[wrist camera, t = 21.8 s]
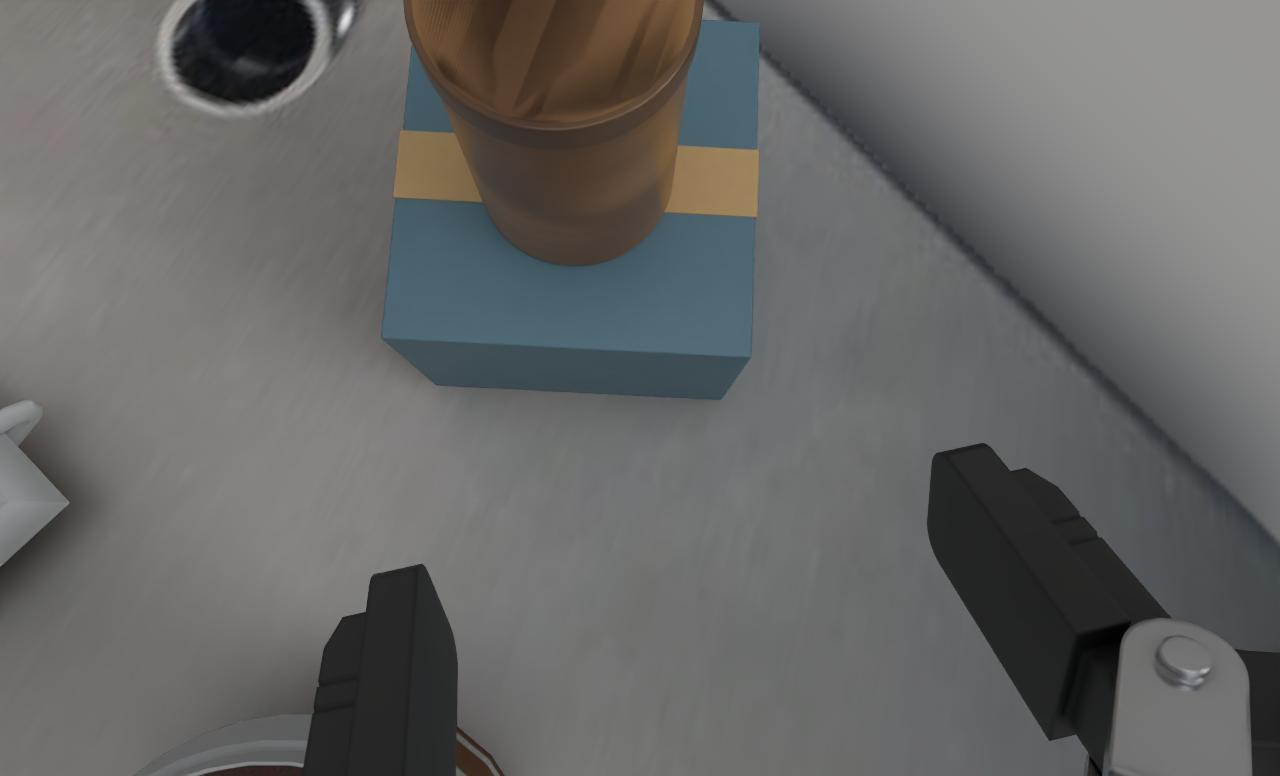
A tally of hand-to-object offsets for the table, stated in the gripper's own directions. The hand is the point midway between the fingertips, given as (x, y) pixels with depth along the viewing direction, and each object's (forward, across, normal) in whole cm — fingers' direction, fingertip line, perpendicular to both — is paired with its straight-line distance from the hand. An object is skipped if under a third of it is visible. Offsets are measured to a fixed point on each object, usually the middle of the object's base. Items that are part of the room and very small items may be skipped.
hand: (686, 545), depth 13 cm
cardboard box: (+19, 0, +4) cm, 19 cm away
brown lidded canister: (+14, 0, -1) cm, 14 cm away
